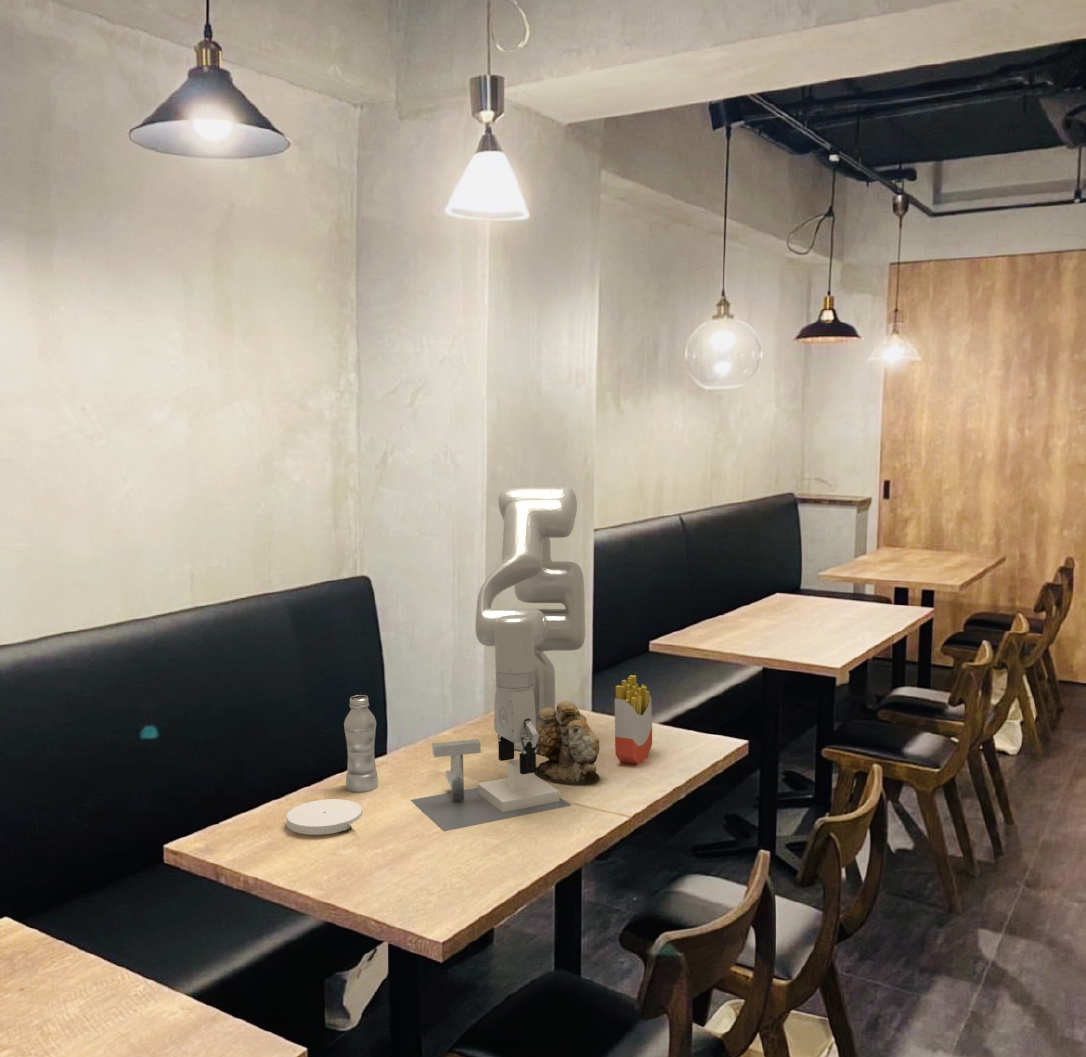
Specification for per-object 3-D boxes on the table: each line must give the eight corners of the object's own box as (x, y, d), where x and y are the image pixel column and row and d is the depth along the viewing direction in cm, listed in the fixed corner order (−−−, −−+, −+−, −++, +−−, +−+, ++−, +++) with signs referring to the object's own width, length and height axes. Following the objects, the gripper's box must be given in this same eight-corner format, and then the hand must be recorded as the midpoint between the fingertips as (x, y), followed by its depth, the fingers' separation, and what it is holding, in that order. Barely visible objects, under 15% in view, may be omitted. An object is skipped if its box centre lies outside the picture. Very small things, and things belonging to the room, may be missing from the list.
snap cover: (532, 782, 214) (531, 749, 214) (559, 801, 204) (558, 765, 203) (477, 793, 209) (476, 758, 208) (502, 812, 198) (501, 776, 198)
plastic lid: (363, 809, 207) (362, 796, 206) (362, 836, 193) (361, 823, 193) (290, 814, 204) (289, 802, 204) (283, 842, 191) (282, 829, 190)
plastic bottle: (339, 797, 213) (335, 699, 211) (360, 786, 219) (356, 691, 216) (365, 801, 210) (361, 703, 208) (385, 791, 216) (382, 695, 213)
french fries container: (654, 753, 236) (653, 674, 234) (634, 768, 226) (633, 686, 225) (635, 751, 238) (634, 673, 236) (615, 765, 229) (614, 684, 227)
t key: (429, 789, 211) (427, 734, 209) (474, 784, 213) (472, 730, 212) (435, 803, 203) (434, 747, 202) (482, 798, 205) (480, 742, 204)
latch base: (530, 784, 218) (530, 777, 217) (571, 812, 202) (571, 805, 201) (410, 807, 206) (410, 799, 206) (444, 839, 190) (443, 831, 190)
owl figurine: (513, 782, 220) (511, 701, 218) (548, 767, 229) (546, 690, 227) (583, 799, 209) (581, 714, 207) (617, 783, 218) (616, 701, 216)
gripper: (479, 673, 210) (481, 757, 211) (516, 690, 194) (518, 781, 196) (514, 669, 213) (515, 752, 215) (553, 686, 198) (554, 775, 199)
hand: (517, 766), depth 205 cm, fingers open, 9 cm apart
